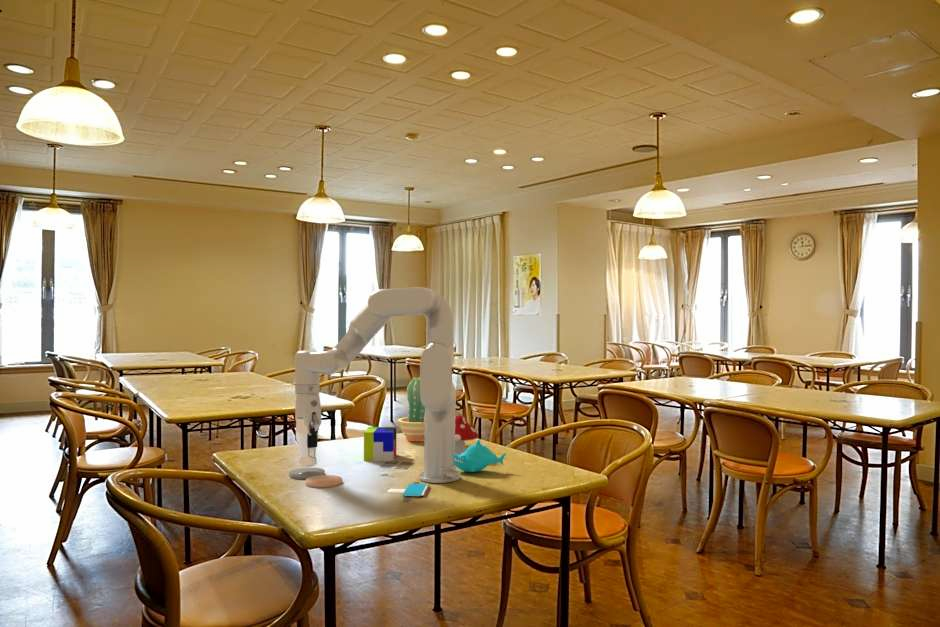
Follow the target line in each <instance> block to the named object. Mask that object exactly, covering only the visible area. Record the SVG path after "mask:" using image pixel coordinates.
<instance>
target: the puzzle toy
mask: <svg viewBox="0 0 940 627" xmlns="http://www.w3.org/2000/svg"><path fill="white" fill-rule="evenodd" d="M396 457H397V427H394V426H393V427H392V426H387V427H385V426H369V427H367V429H365V431H363V461H364V462H366V461H367V462H393V461H394V459H395V458H396Z"/></svg>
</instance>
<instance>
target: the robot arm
mask: <svg viewBox="0 0 940 627" xmlns="http://www.w3.org/2000/svg"><path fill="white" fill-rule="evenodd" d="M422 315H423V316H424V318H425V322H426V325H425V326H426V327H425V335H426V336H425V340H426V342H425V348H424V350H423V351H422V353H421V355H420V358H419V360H420V361H419V377H420V398H421V402H422V404H423V405H424V407H425V413H424V417H425V431H424V441H423V442H424V453H423V454H424V455H423V456H424V460H423V462H424V466H423V468H424V471H423V472H420V473H419V475H418V477H419V480H420V481H423V482H425V483H429V484H430V483H431V484H446V483H447V484H448V483H453V482H456V481H458V480H459V479H460V478H461V477H460V475H461V472H460V471H458V470H457V467H456V465H455V417H456V408H457V407H456V406H457V403H456V402H457V391H456V390H457V389H456V386H455V385H454V383H453V381H452V379H453V378H452V376H453V375H452V374H453V372H452V371H453V370H452V368H453V365H454V363H455V349H454V347H455V346H454V342H455V341H454V319H453V318H454V317H453V312H452V308H451V306H450V304H449V302H448V301H447V300H446V298H445V297H444V296H443V295H441V294H440V293H439V292H437V291H435V290H433V289H431V288H429V287H423V286H412V287H401V288H400V287H398V288H397V287H396V288H380V289H379V288H378V289H376V290H374V291H373V292H371V294H370V295H369V297H368V300H367V304H366V305H364V307H363V308H362V309H361V310H360V311H359V312H358V313H357V314H356V316H354V317H353V318H352V319H351V321H350V323H349V325H348V329H347V332H346V333H345V334H344V336H343V337H342V338H341V340H340V341H339V342H338V343H337V344H335V346H334V347H333V348H332V349H329V350H324V351H317V350H312V349H311V350H309V349H305V350H299V351H297V352H296V353H295V355H294V356H295V359H294V360H295V361H294V363H295V364H294V395H295V405H294V406H295V407H294V411H295V412H294V416H295V417H294V419H295V422H296V421H297V417H298V418H299V419H304V424H305V426H307V429H308V434H309V435H307V447H308V448H314V447H316V448H317V447H318V440H317V435H318V436H319V430H320V426H321V424H322V407H321V398H320V374H321V375H328V376H329V375H333V374H336V373H338V372H342V371H343V370H345V369H346V368H347V367H348V366H349V365H350V364H351V363H352V362H353V361H354V360H355V359H356V358H357V357H358V356H359V354H361V352H362V351H363V350H364V348H365V347H366V346H367V345H368V344H369V343H370V341H371V340H372V339H373V338H374V337H375V336H376V335H377V334H378V333H379V332H380V331H381V329H382V328H383V327H384V326H386V324H387V323H388V322H389V321H390V320H391V319H392V318H393V317H406V316H408V317H409V316H422ZM311 422H313V423H314V425H310V423H311ZM310 427H313V428H312V430H311V428H310Z"/></svg>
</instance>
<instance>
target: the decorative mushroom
mask: <svg viewBox="0 0 940 627" xmlns="http://www.w3.org/2000/svg"><path fill="white" fill-rule="evenodd" d="M479 437H480V436H479V434H478V432H477V431H476V430H475V428H474V427H472V426H471V425H470V424H469V422H468V421H467V419H466V417H465V416H464V415H461V414H458V415H455V454H457V455H461V453H464V452H465V451H466V449H467V446H466V442H467V441H474V440H476V439H479Z"/></svg>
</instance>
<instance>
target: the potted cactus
mask: <svg viewBox="0 0 940 627" xmlns="http://www.w3.org/2000/svg"><path fill="white" fill-rule="evenodd" d="M406 396H407V397H406V398H407V402H408V403H407V404H408V417H407V416H406V417H401V418H398V419H397V423H398V424H397V425H399V426H400V429H401V432H402V433H403V435H404V436H405V441H406V440H407V442H411V441H421V442H424V431H425V407H424V405H423V404H422V402H421V398H420V376H419V377H413V378H412V379H411V380H410V382H409V384H408V385H407V387H406Z"/></svg>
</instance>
